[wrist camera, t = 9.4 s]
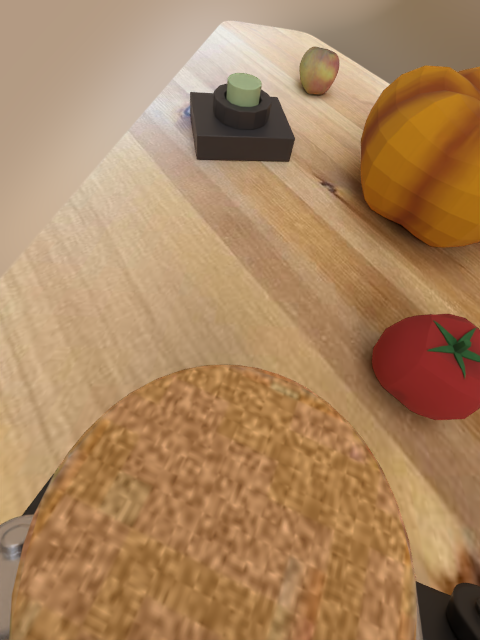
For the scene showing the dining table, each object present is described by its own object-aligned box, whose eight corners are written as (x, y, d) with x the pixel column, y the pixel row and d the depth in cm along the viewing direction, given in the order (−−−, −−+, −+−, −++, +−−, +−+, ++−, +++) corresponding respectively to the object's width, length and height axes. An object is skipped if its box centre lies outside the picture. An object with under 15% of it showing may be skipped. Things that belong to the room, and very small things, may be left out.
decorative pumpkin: (480, 175, 45) (595, 43, 32) (520, 296, 33) (724, 165, 20) (344, 141, 45) (403, -4, 32) (337, 250, 33) (426, 92, 20)
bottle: (201, 431, 19) (219, 271, 6) (276, 507, 17) (529, 520, 4) (119, 518, 16) (-185, 583, 3) (200, 618, 14) (261, 1541, 2)
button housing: (196, 159, 38) (197, 116, 34) (190, 116, 43) (189, 73, 39) (289, 161, 41) (300, 121, 36) (273, 119, 45) (281, 80, 41)
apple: (312, 107, 49) (325, 61, 44) (286, 82, 52) (296, 37, 47) (341, 102, 51) (357, 58, 46) (315, 79, 54) (327, 35, 49)
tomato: (442, 444, 24) (527, 423, 18) (347, 391, 25) (396, 355, 19) (456, 362, 28) (530, 322, 22) (373, 320, 29) (421, 271, 23)
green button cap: (228, 108, 37) (230, 88, 35) (224, 91, 39) (225, 71, 37) (261, 109, 37) (264, 90, 36) (255, 93, 39) (258, 73, 38)
